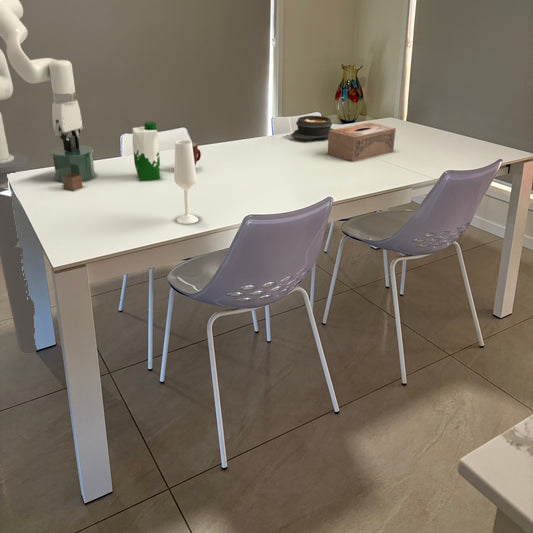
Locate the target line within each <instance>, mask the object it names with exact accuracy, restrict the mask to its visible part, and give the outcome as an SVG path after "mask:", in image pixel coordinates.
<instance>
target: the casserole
mask: <svg viewBox="0 0 533 533" xmlns="http://www.w3.org/2000/svg"><path fill="white" fill-rule="evenodd" d="M295 124H296V126H297V129H295V130H294V131H293V132H292V133H291V134H290V136H291V137H293V138H295V139H296V138H297V139H303V140H322V139H327V138H328V136H329V130H334V129H335V128H331V127H332V126H333V122H332V120H331V118H329V117H326V116H322V115H304V116H300V117H298V119H297V121H296V122H295Z"/></svg>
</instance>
